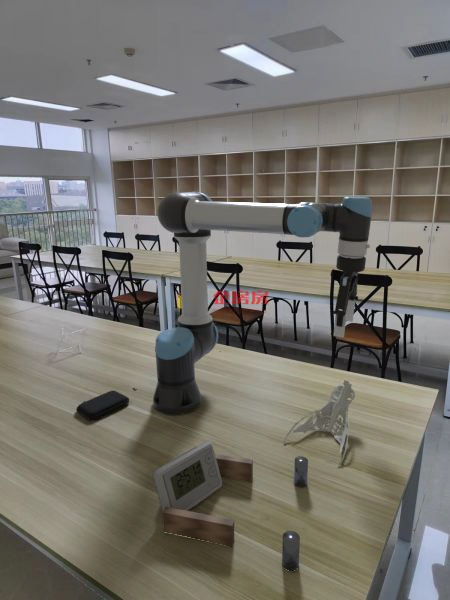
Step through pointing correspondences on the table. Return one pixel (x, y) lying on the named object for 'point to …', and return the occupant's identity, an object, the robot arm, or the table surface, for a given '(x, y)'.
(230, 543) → the chute
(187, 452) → the digital clock
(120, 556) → the table surface
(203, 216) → the robot arm
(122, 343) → the table surface
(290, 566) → the posts
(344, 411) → the skeletal model
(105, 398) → the carrying case or bag
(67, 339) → the geometric polyhedron
